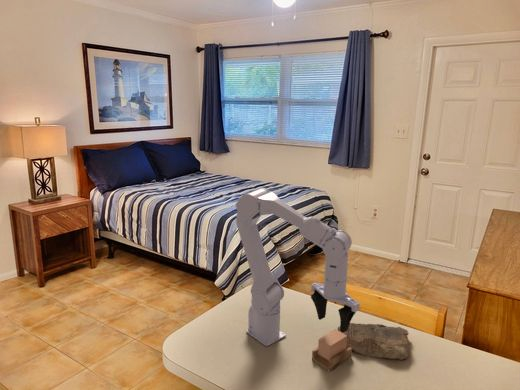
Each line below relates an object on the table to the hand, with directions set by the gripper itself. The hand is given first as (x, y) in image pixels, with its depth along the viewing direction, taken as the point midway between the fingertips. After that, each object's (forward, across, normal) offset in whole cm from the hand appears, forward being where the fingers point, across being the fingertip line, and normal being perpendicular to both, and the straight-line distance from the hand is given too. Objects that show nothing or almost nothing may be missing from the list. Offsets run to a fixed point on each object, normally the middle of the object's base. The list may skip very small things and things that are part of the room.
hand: (332, 324), depth 102 cm
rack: (+10, -1, 0) cm, 10 cm away
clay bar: (+8, -1, 0) cm, 8 cm away
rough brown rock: (+10, -4, -14) cm, 18 cm away
